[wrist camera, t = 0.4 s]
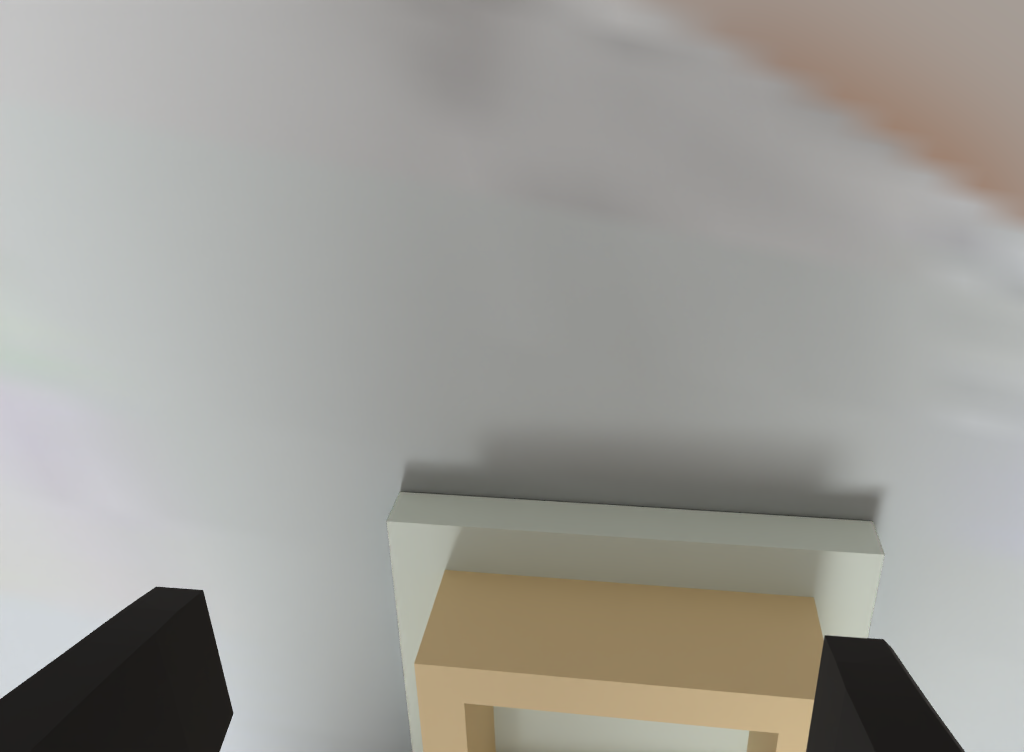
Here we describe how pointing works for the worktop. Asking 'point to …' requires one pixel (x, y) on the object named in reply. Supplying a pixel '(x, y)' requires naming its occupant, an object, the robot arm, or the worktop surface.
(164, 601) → the robot arm
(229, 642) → the worktop surface
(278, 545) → the worktop surface
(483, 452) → the worktop surface
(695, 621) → the frame
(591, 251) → the worktop surface
